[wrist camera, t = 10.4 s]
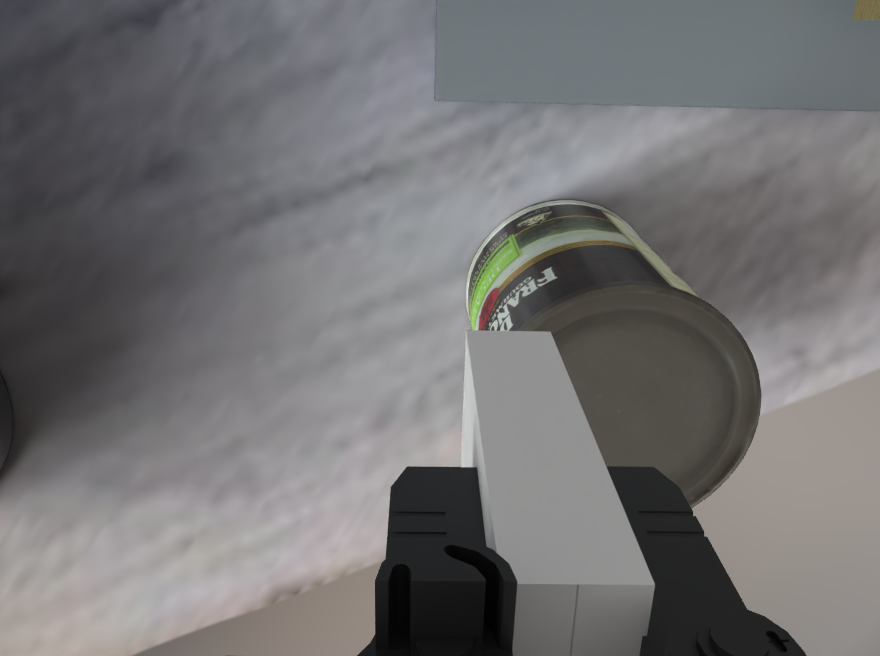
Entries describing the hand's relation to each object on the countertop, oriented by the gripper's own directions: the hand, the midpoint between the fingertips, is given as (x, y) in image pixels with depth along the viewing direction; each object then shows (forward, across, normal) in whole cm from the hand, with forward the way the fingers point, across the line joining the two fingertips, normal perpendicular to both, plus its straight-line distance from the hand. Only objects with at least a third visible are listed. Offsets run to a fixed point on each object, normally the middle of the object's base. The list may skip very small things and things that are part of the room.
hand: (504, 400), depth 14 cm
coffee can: (+27, +6, -7) cm, 28 cm away
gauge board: (+26, +12, +12) cm, 31 cm away
